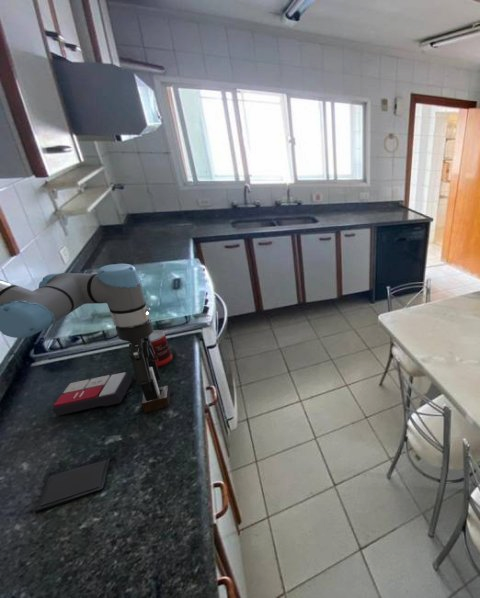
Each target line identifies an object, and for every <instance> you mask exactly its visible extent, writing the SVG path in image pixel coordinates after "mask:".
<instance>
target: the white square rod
mask: <svg viewBox="0 0 480 598" xmlns="http://www.w3.org/2000/svg"><path fill="white" fill-rule="evenodd" d="M149 369H150V375H151V379H153V382H154V385H155V388H156V392H157V395H158V396H161V395H160V391H159V385H158V382H157V381H158V380H157V381H156V378H155V375H154V371H153V368H152V367H149Z"/></svg>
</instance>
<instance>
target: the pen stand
mask: <svg viewBox="0 0 480 598" xmlns="http://www.w3.org/2000/svg"><path fill="white" fill-rule="evenodd" d="M158 388H159V391H160V395H161V396H158V399H154V400H150V401H146V399H145V396H144V393H143V392H142V399H141V407H142V410H143V412H144V414H146V413H150V412H153V411H157V410H160V409H163V408H164V409H165V408H167V407H170V400H171V392H170V387H169V385H164V386H160V387H159V386H158Z"/></svg>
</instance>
